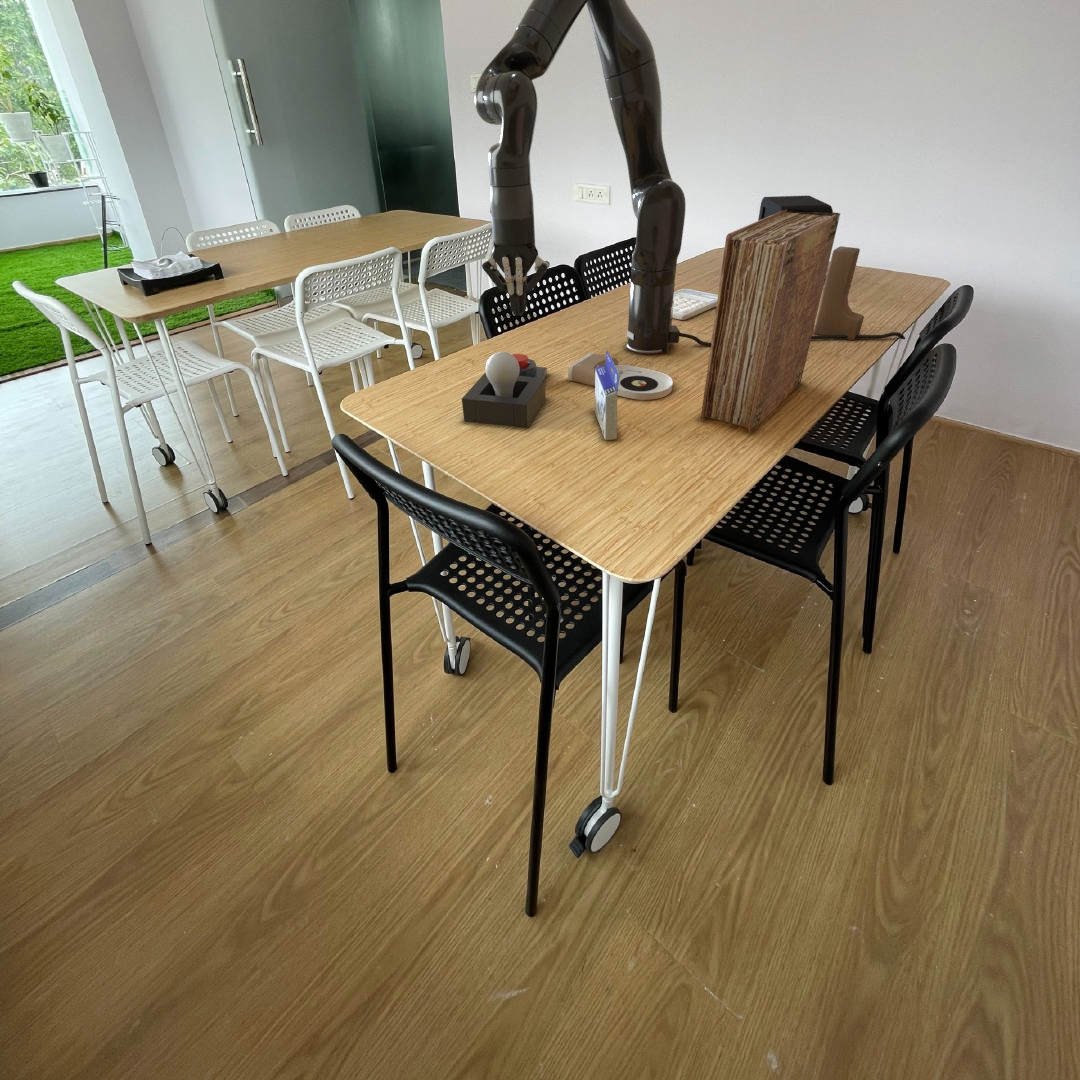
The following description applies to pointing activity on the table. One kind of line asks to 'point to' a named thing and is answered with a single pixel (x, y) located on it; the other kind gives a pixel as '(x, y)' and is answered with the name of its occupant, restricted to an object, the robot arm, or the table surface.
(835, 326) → the wooden block
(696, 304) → the calculator
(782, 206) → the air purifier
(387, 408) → the table surface
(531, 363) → the switch
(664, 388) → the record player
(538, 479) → the table surface
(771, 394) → the book
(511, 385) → the lightbulb
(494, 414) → the socket
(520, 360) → the button
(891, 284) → the table surface
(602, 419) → the ink box
